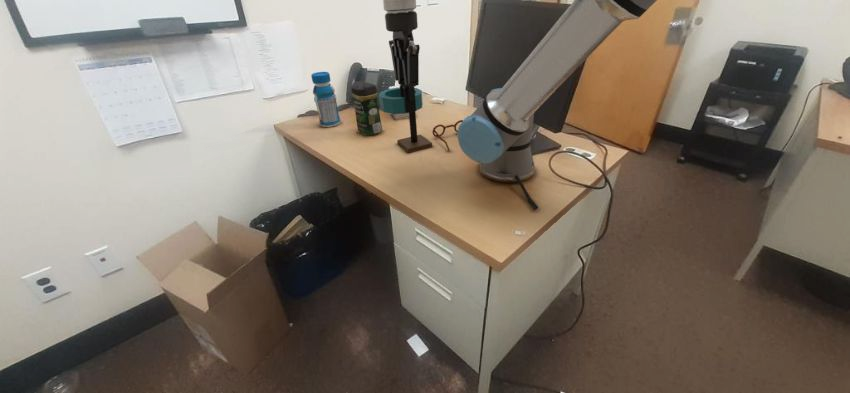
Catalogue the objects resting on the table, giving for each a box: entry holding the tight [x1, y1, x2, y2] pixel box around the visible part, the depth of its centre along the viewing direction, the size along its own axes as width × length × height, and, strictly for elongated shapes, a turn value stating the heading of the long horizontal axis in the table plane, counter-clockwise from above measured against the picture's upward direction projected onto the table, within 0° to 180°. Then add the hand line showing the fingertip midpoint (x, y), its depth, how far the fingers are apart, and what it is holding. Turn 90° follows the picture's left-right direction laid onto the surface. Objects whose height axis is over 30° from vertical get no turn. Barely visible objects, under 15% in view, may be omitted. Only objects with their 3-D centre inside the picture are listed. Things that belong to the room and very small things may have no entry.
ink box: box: [388, 84, 409, 121], centre depth 143 cm, size 9×8×12 cm
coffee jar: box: [350, 80, 383, 137], centre depth 127 cm, size 10×8×19 cm
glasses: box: [432, 119, 464, 152], centre depth 119 cm, size 13×13×5 cm
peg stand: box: [396, 111, 433, 154], centre depth 116 cm, size 9×9×14 cm
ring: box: [377, 87, 424, 115], centre depth 96 cm, size 12×12×4 cm
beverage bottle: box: [311, 71, 341, 128], centre depth 137 cm, size 8×8×20 cm
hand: (408, 110), depth 93 cm, fingers closed on ring, 2 cm apart
